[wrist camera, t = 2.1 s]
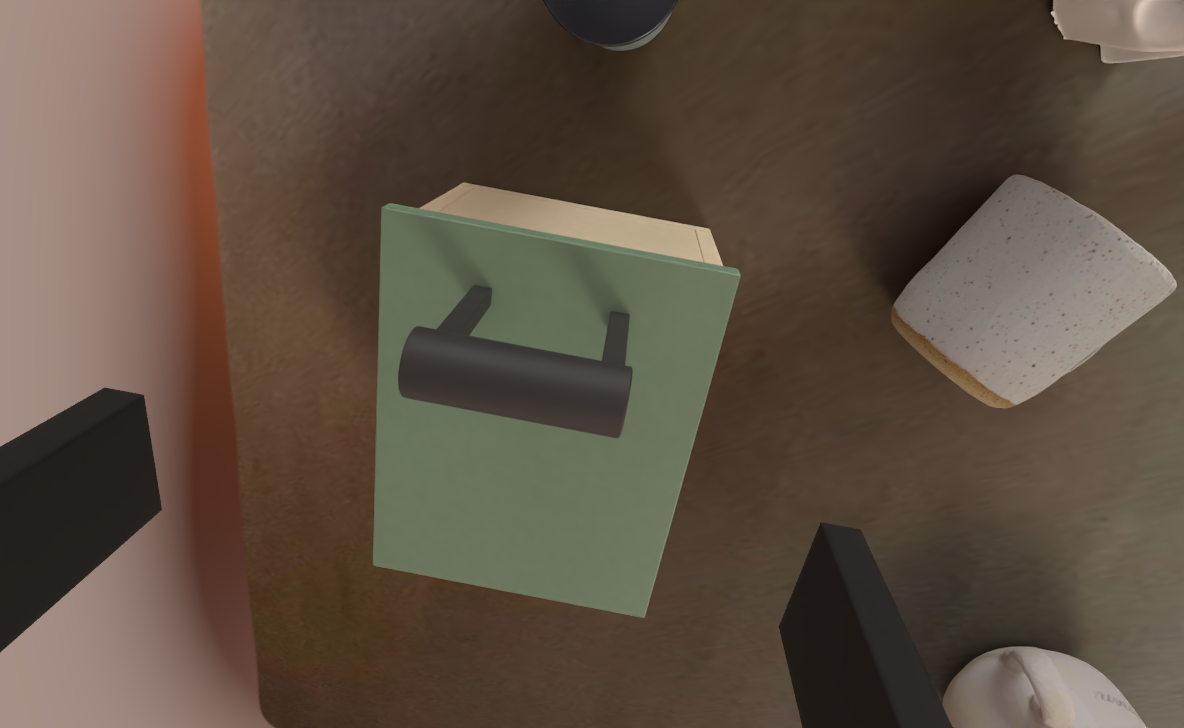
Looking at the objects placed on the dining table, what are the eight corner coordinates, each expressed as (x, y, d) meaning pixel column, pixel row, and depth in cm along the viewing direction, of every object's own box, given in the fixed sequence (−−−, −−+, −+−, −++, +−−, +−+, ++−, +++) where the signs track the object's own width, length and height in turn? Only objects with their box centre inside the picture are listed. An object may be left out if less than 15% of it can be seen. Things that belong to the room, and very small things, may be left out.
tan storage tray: (462, 181, 32) (389, 224, 23) (709, 228, 31) (732, 289, 23) (442, 442, 38) (379, 553, 29) (646, 481, 38) (644, 604, 29)
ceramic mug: (858, 298, 32) (916, 363, 25) (983, 159, 29) (1090, 188, 22) (1007, 402, 34) (1100, 489, 27) (1141, 282, 31) (1285, 345, 24)
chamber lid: (389, 202, 22) (267, 261, 15) (738, 268, 22) (778, 358, 15) (378, 553, 29) (292, 705, 22) (644, 605, 29) (642, 774, 22)
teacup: (1083, 730, 44) (1169, 861, 36) (917, 736, 45) (968, 862, 38) (1112, 576, 38) (1220, 694, 31) (922, 590, 40) (982, 704, 32)
